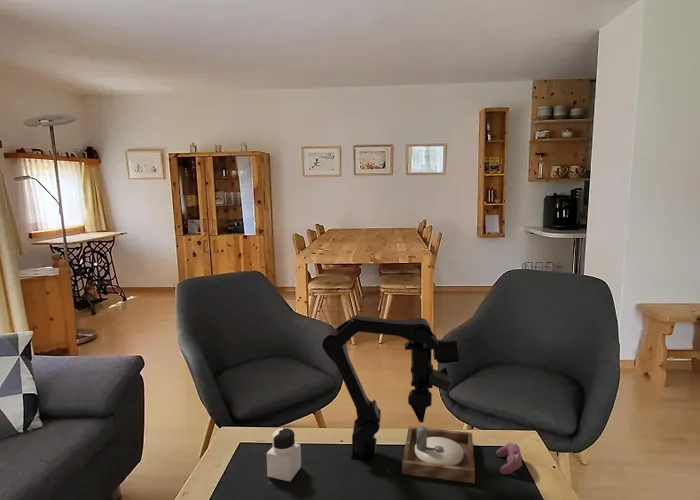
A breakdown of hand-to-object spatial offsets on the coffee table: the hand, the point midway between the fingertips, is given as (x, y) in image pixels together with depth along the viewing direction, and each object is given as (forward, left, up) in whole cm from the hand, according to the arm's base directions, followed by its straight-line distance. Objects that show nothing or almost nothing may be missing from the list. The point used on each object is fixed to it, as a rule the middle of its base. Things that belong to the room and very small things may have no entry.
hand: (422, 414), depth 132 cm
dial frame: (+5, 0, -13) cm, 14 cm away
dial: (+5, 0, -12) cm, 13 cm away
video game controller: (+24, 0, -14) cm, 28 cm away
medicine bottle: (-37, -16, -13) cm, 42 cm away
